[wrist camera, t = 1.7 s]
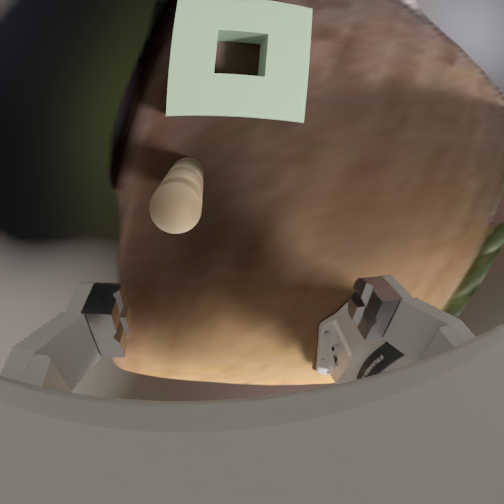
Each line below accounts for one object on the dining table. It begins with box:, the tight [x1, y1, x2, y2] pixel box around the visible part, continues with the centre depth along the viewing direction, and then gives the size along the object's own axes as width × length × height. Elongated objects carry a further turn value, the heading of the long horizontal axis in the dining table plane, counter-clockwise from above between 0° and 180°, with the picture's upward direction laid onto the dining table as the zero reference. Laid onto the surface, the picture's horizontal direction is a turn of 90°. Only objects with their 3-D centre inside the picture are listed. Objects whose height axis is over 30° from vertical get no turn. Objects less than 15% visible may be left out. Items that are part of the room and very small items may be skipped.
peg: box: [149, 157, 204, 234], centre depth 25 cm, size 4×4×13 cm
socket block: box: [166, 0, 313, 123], centre depth 23 cm, size 14×14×4 cm
